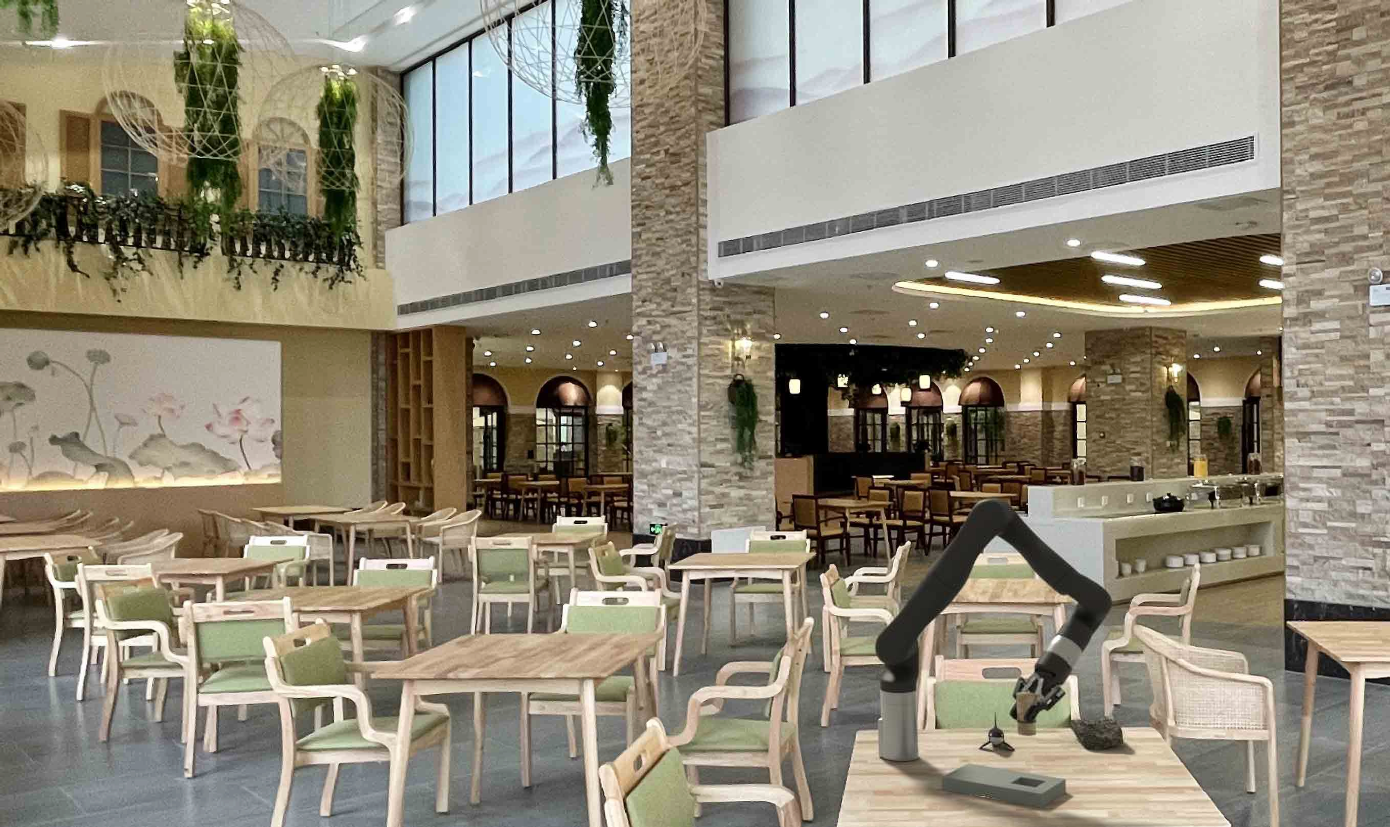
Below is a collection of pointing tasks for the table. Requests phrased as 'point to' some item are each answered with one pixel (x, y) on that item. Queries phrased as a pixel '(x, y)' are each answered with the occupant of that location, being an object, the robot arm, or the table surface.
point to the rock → (1097, 732)
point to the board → (1004, 785)
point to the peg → (1022, 707)
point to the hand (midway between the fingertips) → (1019, 719)
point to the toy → (996, 736)
